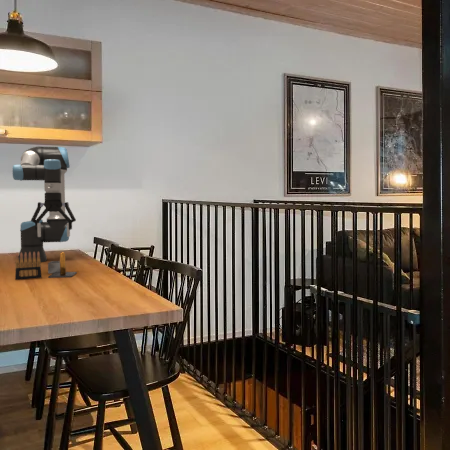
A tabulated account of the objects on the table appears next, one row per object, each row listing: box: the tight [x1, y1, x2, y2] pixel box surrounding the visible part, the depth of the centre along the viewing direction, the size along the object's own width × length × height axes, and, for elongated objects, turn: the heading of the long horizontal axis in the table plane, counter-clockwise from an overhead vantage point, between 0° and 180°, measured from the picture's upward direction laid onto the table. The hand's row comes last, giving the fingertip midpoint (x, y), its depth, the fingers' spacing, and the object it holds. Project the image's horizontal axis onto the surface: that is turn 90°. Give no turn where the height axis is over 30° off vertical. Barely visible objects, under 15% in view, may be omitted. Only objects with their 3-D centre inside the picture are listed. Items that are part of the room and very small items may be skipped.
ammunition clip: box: [14, 251, 43, 281], centre depth 210 cm, size 11×2×12 cm, turn 118°
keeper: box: [47, 251, 78, 279], centre depth 218 cm, size 12×10×11 cm
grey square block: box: [47, 260, 60, 274], centre depth 227 cm, size 6×6×5 cm
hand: (53, 236), depth 226 cm, fingers open, 13 cm apart
